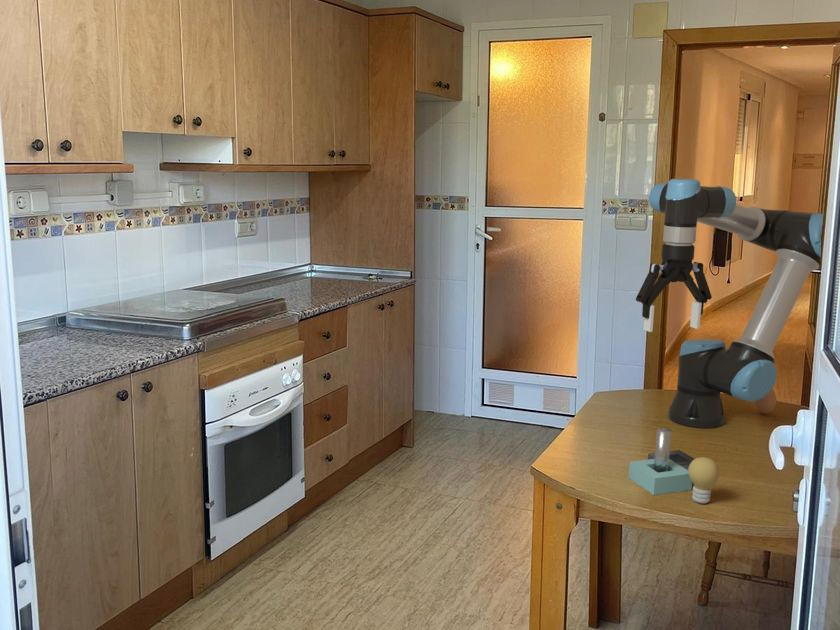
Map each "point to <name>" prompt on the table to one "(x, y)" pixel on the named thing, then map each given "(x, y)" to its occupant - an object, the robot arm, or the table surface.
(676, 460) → the mount
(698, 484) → the light bulb
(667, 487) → the socket
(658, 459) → the pin
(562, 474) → the table surface
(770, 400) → the egg
